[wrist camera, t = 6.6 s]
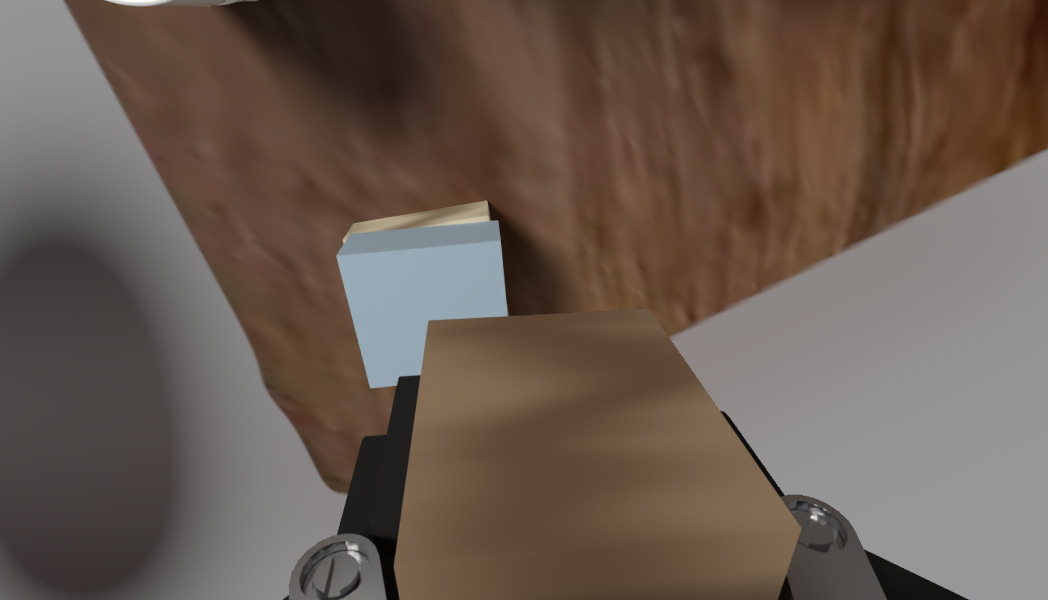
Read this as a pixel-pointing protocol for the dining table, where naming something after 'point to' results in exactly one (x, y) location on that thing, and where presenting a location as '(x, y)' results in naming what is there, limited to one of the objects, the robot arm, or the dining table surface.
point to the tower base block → (427, 219)
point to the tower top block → (418, 289)
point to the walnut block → (579, 470)
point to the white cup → (177, 2)
